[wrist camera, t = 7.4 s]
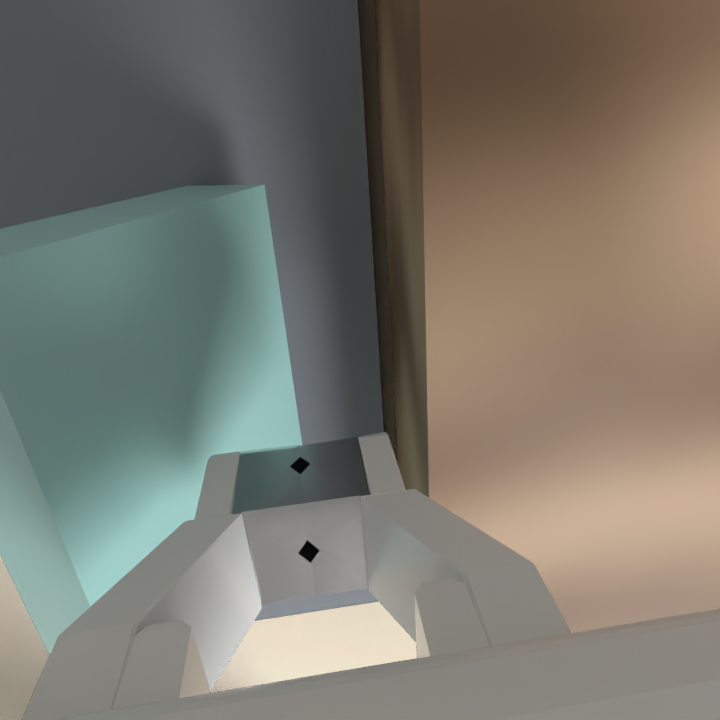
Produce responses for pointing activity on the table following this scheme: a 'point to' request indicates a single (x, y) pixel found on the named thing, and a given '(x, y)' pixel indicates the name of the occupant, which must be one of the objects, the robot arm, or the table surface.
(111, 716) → the robot arm
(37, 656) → the table surface
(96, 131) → the mat
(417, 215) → the brown wooden block
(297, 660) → the table surface
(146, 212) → the teal rectangular block
